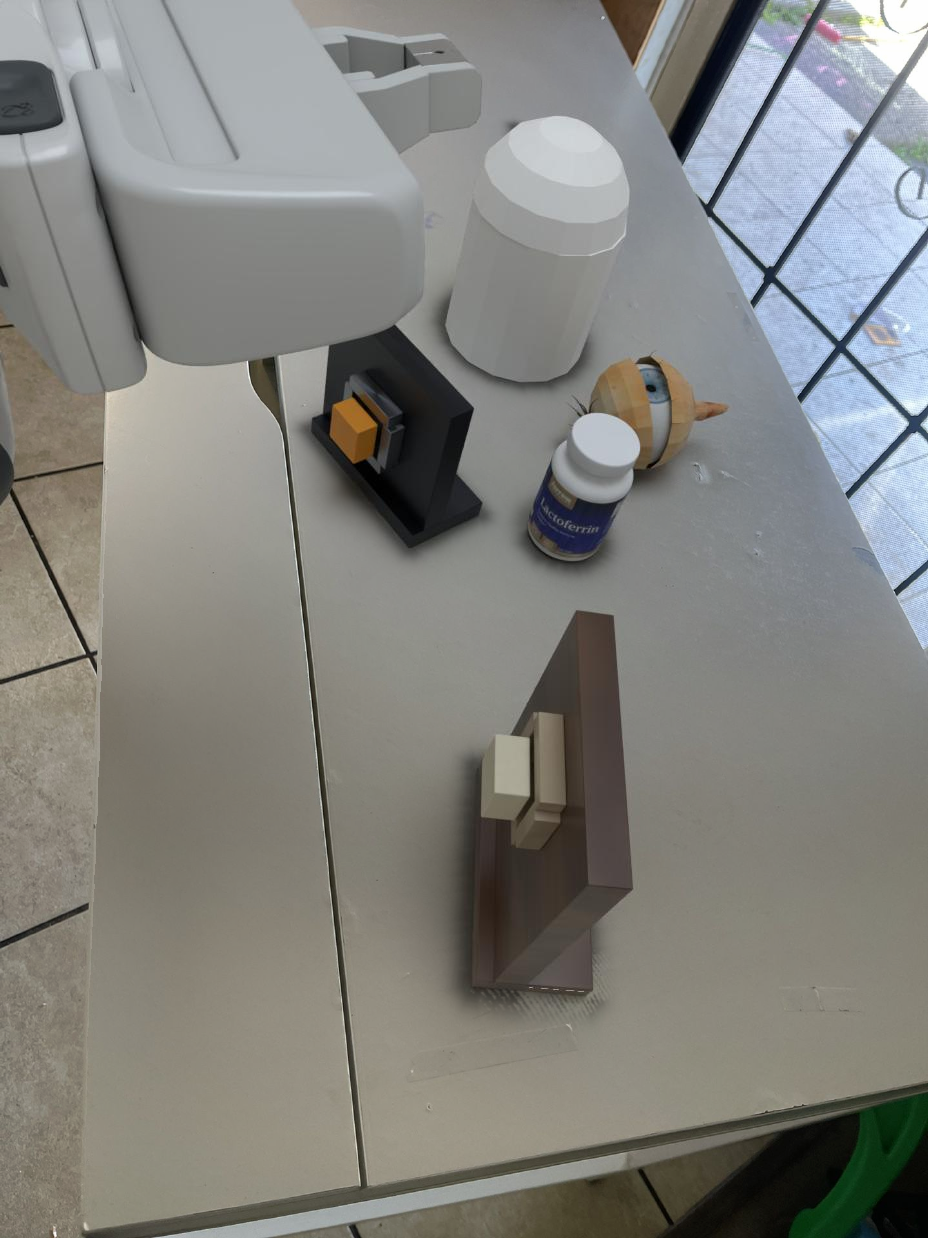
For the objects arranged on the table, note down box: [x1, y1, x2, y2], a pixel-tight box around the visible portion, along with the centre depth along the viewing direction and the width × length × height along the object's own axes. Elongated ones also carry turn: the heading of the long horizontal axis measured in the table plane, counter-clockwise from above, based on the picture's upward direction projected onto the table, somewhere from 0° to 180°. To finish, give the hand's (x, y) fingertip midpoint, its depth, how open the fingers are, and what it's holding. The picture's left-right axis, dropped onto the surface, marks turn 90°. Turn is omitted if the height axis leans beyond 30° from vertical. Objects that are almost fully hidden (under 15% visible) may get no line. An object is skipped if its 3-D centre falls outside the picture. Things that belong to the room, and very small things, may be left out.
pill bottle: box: [527, 413, 640, 562], centre depth 71 cm, size 6×6×11 cm
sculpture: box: [566, 350, 730, 470], centre depth 78 cm, size 9×9×15 cm
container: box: [444, 115, 631, 383], centre depth 80 cm, size 14×13×20 cm
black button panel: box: [310, 324, 483, 549], centre depth 70 cm, size 7×14×14 cm, turn 38°
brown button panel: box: [471, 609, 634, 997], centre depth 51 cm, size 7×14×20 cm, turn 178°
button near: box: [481, 733, 530, 820], centre depth 46 cm, size 2×3×3 cm, turn 178°
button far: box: [330, 398, 378, 464], centre depth 67 cm, size 2×3×3 cm, turn 38°
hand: (465, 78), depth 30 cm, fingers closed
